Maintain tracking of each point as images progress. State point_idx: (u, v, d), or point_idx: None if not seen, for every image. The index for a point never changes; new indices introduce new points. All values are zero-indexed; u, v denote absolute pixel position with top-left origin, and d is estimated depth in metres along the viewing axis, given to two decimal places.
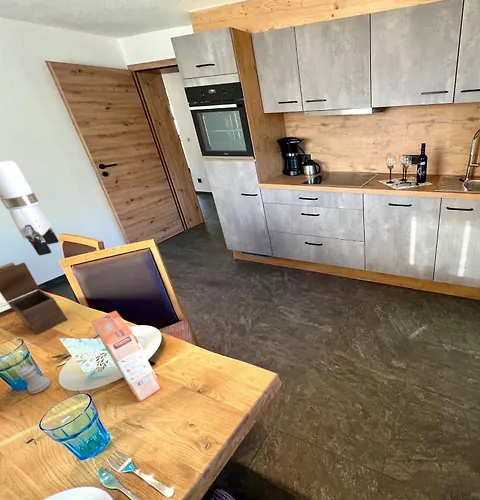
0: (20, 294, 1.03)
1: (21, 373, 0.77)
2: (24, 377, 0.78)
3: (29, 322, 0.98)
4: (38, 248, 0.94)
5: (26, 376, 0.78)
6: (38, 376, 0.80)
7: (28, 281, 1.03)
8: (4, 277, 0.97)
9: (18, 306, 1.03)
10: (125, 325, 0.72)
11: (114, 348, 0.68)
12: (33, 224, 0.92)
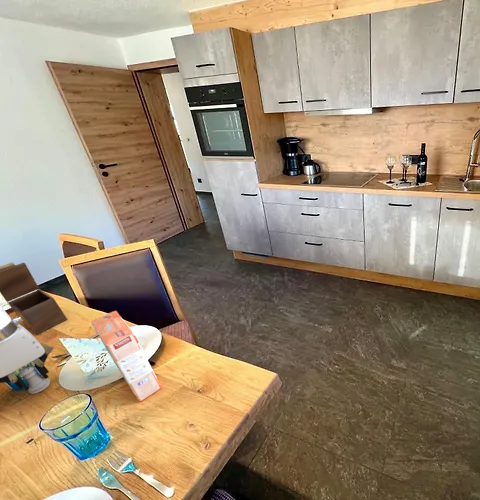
0: (20, 294, 1.03)
1: (21, 373, 0.77)
2: (24, 377, 0.78)
3: (29, 322, 0.98)
4: (14, 383, 0.77)
5: (26, 376, 0.78)
6: (38, 376, 0.80)
7: (28, 281, 1.03)
8: (4, 277, 0.97)
9: (18, 306, 1.03)
10: (125, 325, 0.72)
11: (114, 348, 0.68)
12: None
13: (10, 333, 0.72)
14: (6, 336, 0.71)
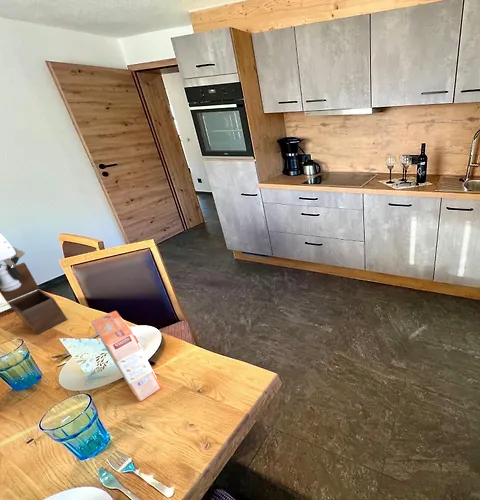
0: (20, 294, 1.03)
1: None
2: None
3: (29, 322, 0.98)
4: None
5: None
6: (9, 276, 0.89)
7: (28, 281, 1.03)
8: None
9: (18, 306, 1.03)
10: (125, 325, 0.72)
11: (114, 348, 0.68)
12: None
13: None
14: None
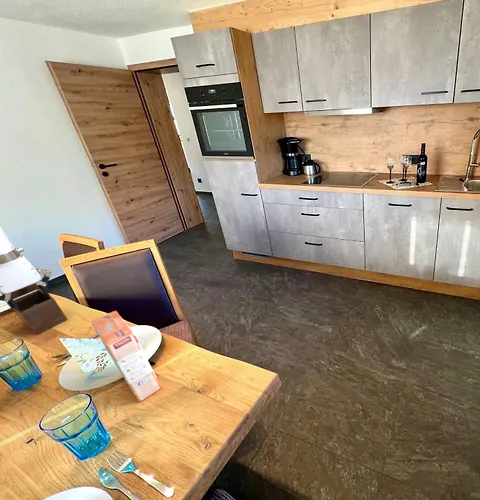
0: (20, 294, 1.03)
1: None
2: None
3: (29, 322, 0.98)
4: (7, 303, 0.95)
5: None
6: None
7: None
8: None
9: (18, 306, 1.03)
10: (125, 325, 0.72)
11: (114, 348, 0.68)
12: None
13: (14, 258, 0.92)
14: (11, 259, 0.91)
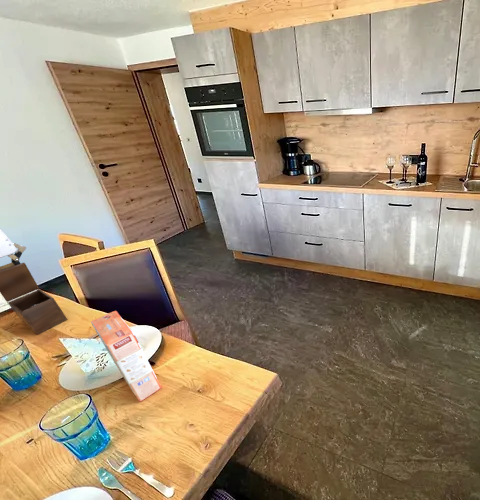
0: (20, 294, 1.03)
1: None
2: None
3: (29, 322, 0.98)
4: None
5: None
6: None
7: (28, 281, 1.03)
8: (4, 277, 0.97)
9: (18, 306, 1.03)
10: (125, 325, 0.72)
11: (114, 348, 0.68)
12: None
13: None
14: None
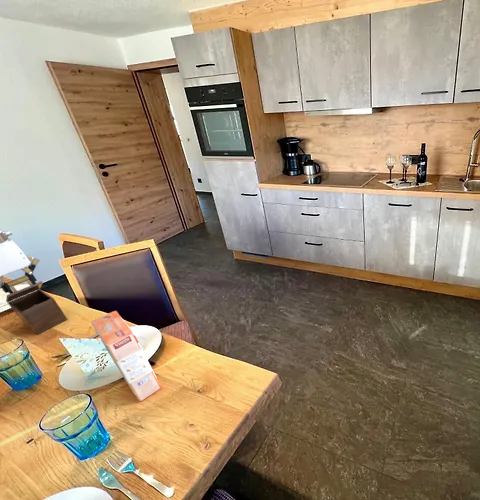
0: (21, 296, 1.03)
1: None
2: None
3: (29, 322, 0.98)
4: (1, 287, 0.94)
5: None
6: None
7: (35, 289, 1.03)
8: (19, 293, 0.97)
9: (18, 306, 1.03)
10: (125, 325, 0.72)
11: (114, 348, 0.68)
12: None
13: (1, 241, 0.90)
14: None
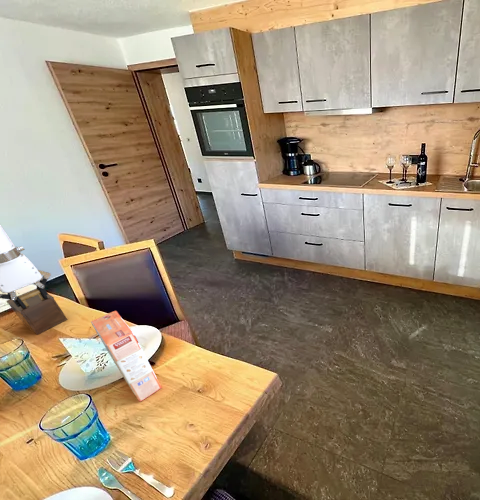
0: None
1: None
2: None
3: (29, 322, 0.98)
4: (14, 302, 0.95)
5: None
6: None
7: None
8: None
9: None
10: (125, 325, 0.72)
11: (114, 348, 0.68)
12: None
13: (14, 256, 0.91)
14: (11, 258, 0.90)
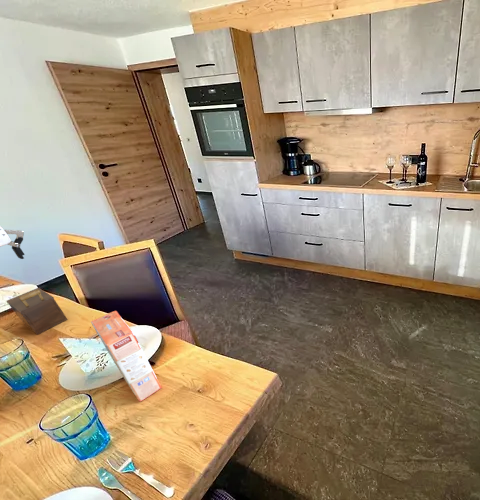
0: None
1: None
2: None
3: (29, 322, 0.98)
4: None
5: None
6: None
7: None
8: None
9: None
10: (125, 325, 0.72)
11: (114, 348, 0.68)
12: None
13: None
14: None
